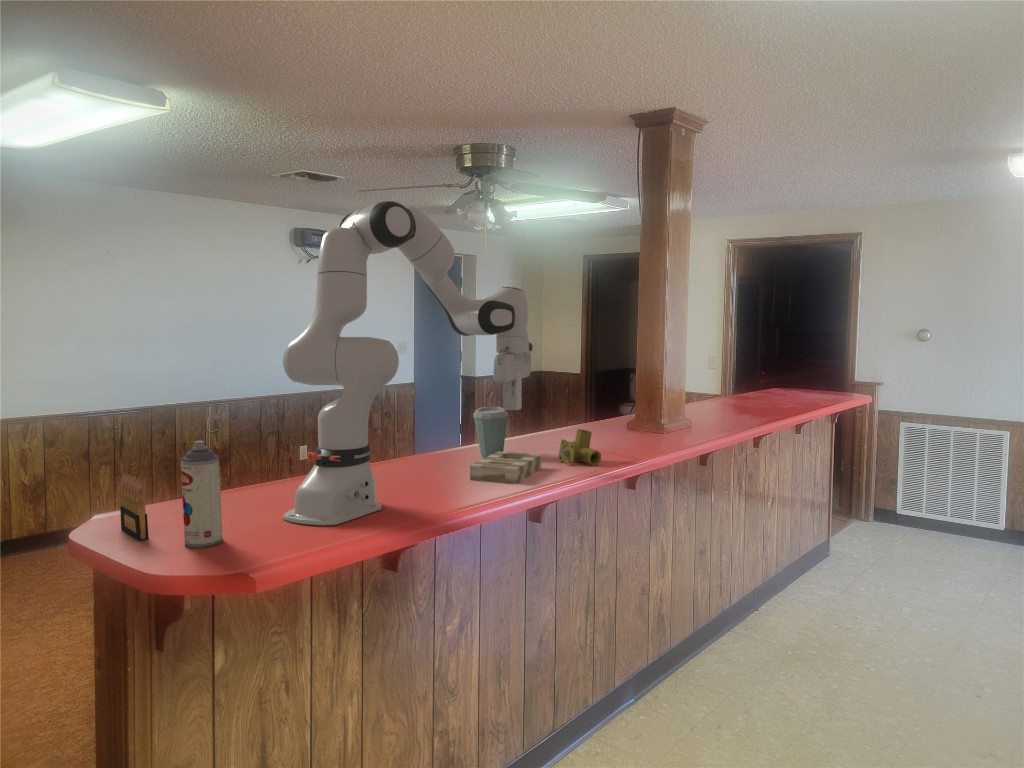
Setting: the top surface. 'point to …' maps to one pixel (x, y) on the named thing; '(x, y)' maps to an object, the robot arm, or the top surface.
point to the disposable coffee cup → (490, 429)
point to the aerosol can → (201, 497)
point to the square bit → (514, 395)
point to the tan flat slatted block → (505, 467)
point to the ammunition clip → (133, 508)
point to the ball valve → (579, 450)
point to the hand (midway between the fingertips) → (512, 396)
